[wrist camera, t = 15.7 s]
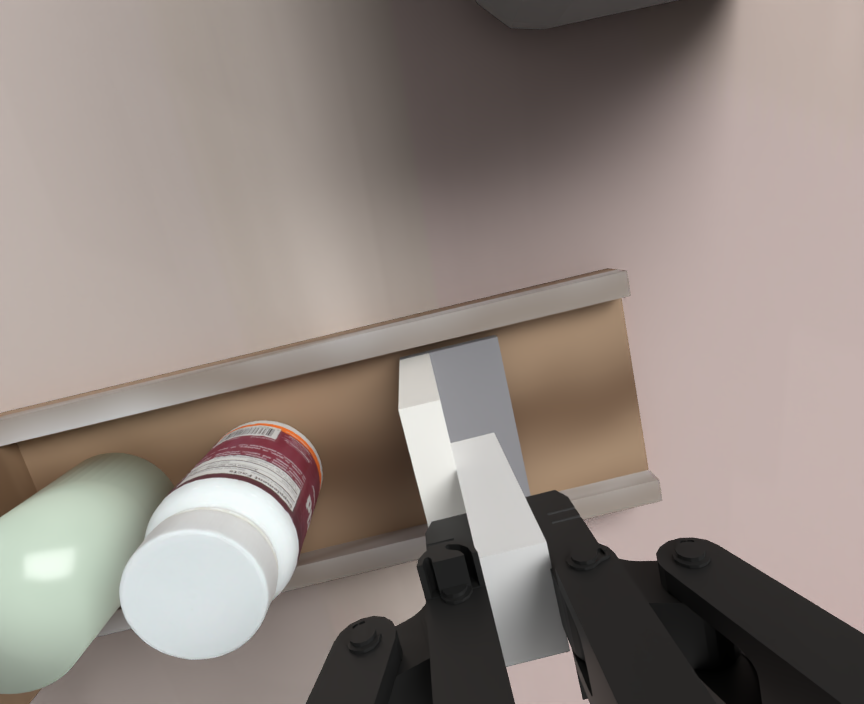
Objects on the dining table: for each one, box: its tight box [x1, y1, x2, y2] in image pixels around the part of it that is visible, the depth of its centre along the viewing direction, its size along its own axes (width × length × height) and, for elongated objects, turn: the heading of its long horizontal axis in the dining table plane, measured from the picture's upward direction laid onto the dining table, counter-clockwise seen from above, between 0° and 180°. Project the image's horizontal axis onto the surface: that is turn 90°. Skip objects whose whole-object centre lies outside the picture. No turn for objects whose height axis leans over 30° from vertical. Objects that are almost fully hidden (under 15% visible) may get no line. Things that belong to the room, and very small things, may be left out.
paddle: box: [398, 335, 531, 527], centre depth 19 cm, size 7×4×7 cm, turn 13°
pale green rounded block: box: [0, 453, 175, 694], centre depth 19 cm, size 5×5×7 cm
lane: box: [0, 268, 662, 704], centre depth 20 cm, size 10×27×7 cm, turn 103°
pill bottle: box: [119, 420, 323, 660], centre depth 19 cm, size 5×5×8 cm
